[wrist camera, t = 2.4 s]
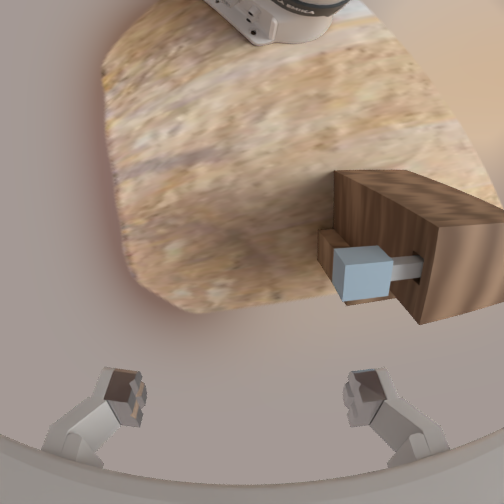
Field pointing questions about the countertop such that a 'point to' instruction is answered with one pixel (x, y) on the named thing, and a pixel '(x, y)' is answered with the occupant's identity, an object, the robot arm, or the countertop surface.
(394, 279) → the plug
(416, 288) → the stand
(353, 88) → the countertop surface
